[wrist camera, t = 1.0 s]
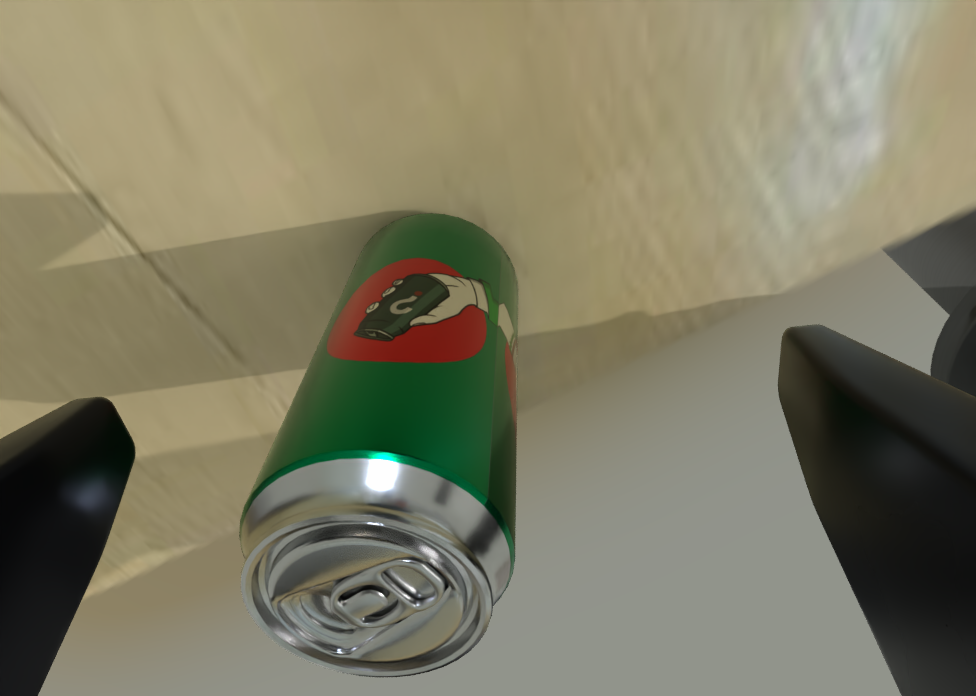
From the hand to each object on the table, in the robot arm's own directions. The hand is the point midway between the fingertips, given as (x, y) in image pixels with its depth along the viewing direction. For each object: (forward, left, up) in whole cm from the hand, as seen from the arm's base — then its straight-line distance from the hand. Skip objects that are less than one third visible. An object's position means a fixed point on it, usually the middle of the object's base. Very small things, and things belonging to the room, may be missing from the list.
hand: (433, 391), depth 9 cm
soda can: (-3, +4, -12) cm, 13 cm away
